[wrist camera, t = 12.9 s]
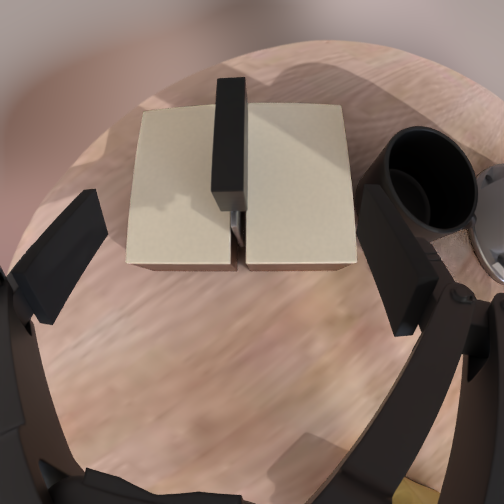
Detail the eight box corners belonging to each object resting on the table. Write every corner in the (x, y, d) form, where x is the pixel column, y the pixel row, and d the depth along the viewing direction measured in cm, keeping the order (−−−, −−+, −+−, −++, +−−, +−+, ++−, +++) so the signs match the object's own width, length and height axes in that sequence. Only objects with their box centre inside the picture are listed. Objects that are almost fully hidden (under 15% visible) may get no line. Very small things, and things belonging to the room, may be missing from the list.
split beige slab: (328, 139, 32) (341, 104, 25) (337, 270, 30) (357, 262, 23) (163, 143, 32) (143, 111, 26) (153, 270, 30) (125, 262, 24)
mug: (438, 275, 29) (489, 265, 20) (341, 228, 30) (370, 200, 21) (456, 199, 30) (502, 172, 21) (368, 152, 31) (397, 107, 22)
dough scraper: (252, 146, 30) (245, 66, 18) (252, 246, 28) (243, 208, 16) (234, 146, 30) (218, 67, 18) (232, 246, 28) (209, 209, 16)
